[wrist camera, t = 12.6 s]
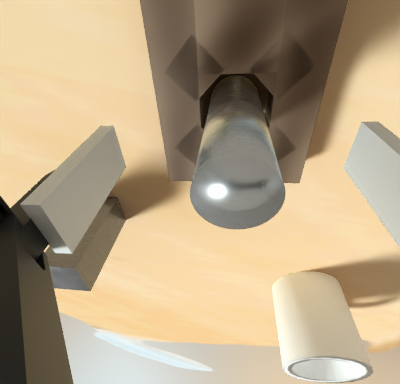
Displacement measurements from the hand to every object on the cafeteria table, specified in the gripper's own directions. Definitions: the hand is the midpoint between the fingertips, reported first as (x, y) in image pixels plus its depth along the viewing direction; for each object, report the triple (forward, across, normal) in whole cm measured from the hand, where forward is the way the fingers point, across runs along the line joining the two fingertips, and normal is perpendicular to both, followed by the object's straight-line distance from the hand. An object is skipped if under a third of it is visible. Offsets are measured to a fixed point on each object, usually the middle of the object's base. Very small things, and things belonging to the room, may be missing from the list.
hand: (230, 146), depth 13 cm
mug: (+9, +14, -31) cm, 35 cm away
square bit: (+9, -16, -14) cm, 23 cm away
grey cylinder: (+9, 0, 0) cm, 9 cm away
